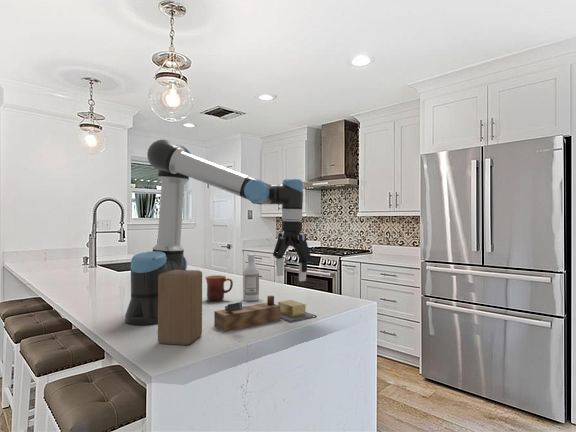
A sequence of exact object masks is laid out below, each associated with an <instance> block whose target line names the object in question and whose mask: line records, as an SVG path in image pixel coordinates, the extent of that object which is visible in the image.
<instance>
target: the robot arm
mask: <svg viewBox="0 0 576 432" xmlns="http://www.w3.org/2000/svg"><path fill="white" fill-rule="evenodd" d="M147 160H148V162H149V164H150V166H151V167H153V169H155V170H157V179H158V180H159V181H160V182H161V184H160V185H161V186H160V187H161V189H160V200H159V201H160V203H159V213H158V231H157V242H156V245H154V246H153V247H152V251H146V252H139V253H137V254H135V255H133V256H132V258H131V261H130V299H129V303H128V306H127V309H126V311H125V316H124V321H125V323H126V324H128V325H133V326H144V325H145V326H146V325H155V324H158V276H159V274H162V273H165V272H169V271H172V270H188V269H187V268H188V262H187V261H188V260H187V258H186V257H185V255H184V250H185V249H184V247H183V246H182V245H181V239H182V226H183V225H182V223H183V210H184V194H185V185H186V183H188V182H189V180H190V178H191V179H194V180H196V181H199V182H202V183H204V184H206V185H210V186H211V187H214V188H217V189H219V190H223V191H225V192H228V193H230V194H233V195H236V196H238V197H241V198H243V199H245V200H247V201H250V203H252V204H253V205H260V206H261V205H279V206H280V205H282V209H281V210H282V211H281V219H282V220H283V221H282V222H281V231H282V232H279V233H278V234H277V235H278V236H277V241H276V244H275V247H274V249H273V252H272V257H274V258H276V276H277V277H280V276H283V277H284V266H285V265H284V261H285V260H284V259H285V258H284V255H285V254H286V252H287V250H288V248H289V247H292V248H294V250H295V252H296V254H297V256H298V259H299V263H298V281H299V282H306V281H307V271H308V263H309V262H312V256H311V253H310V249H309V245H308V242H307V235H306V234H301V232H302V231H303V222H302V220H303V203H304V202H303V201H304V189H303V188H304V185H303V181H302V180H301V179H299V178H284V179H283V180H282V183H281V184H274V183H273V184H270V183H266V182H264V181H263V180H261V179H256V178H254V177H251V176H249V175H246V174H244V173H241V172H238V171H235V170H233V169H230V168H229V167H228V168H227V167H226V166H222V165H220V164H217V163H214V162H212V161H208V160H206V159H204V158H202V157H198V156H196V155H193V153H192V152H191V151H190V150H189V149H187V147H185V146H183V145H180V144H178V143H175V142H173V141H171V140H168V139H158V140H155V141H153V143H151V145H150V146H149V147H148V149H147Z"/></svg>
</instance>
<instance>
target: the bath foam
mask: <svg viewBox="0 0 576 432" xmlns="http://www.w3.org/2000/svg"><path fill="white" fill-rule="evenodd" d="M255 255H256V254H255V253H249V254H247V263H246V265H245V267H244V268H243V271H242V274H243V277H242V281H243V282H242V292H243V293H242V299H243V301H246V302H255V301H256V302H257V301H258V300H260V272H259V268H258V266H257V264H256V262H255Z"/></svg>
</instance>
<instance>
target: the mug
mask: <svg viewBox="0 0 576 432" xmlns="http://www.w3.org/2000/svg"><path fill="white" fill-rule="evenodd" d="M226 277H227V276H225V275H219V274H218V275H217V274H214V275H207V276H205V280H206V298H207V301H209V302H214V303H215V302H221V301H223V300H224V299H225V294H227V293H229V292H231V290H232V288H233V285H234V282H233V279H232V278H229V277H228V278H226ZM227 281H229V282H230V284H229V285H230V286H229V288H228V289H227V290H226V289H225V282H227Z"/></svg>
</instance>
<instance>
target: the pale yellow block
mask: <svg viewBox="0 0 576 432" xmlns="http://www.w3.org/2000/svg"><path fill="white" fill-rule="evenodd" d="M277 305H279V306H280V314H283V315H286V316H289V317H292V318H294V317H299V316H304V315H305V312H306V303H303V302H299V301H296V300H292V299H288V300H281V301H277Z"/></svg>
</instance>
